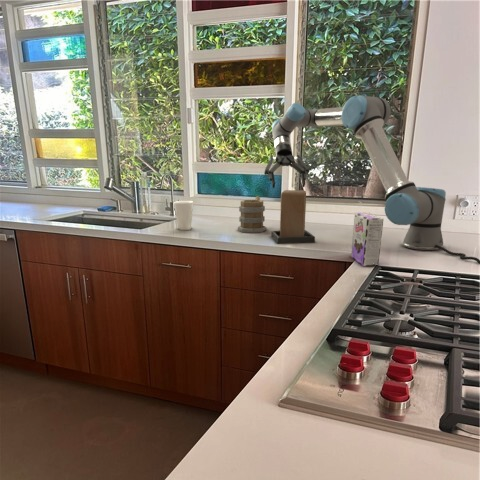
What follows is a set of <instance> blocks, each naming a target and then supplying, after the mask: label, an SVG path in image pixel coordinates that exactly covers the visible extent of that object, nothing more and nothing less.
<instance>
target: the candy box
mask: <svg viewBox="0 0 480 480" xmlns="http://www.w3.org/2000/svg"><path fill="white" fill-rule="evenodd" d="M383 227H384V217H380V216H378V215H375V214H373V213H371V212H368V211H367V212H364V211H363V212H354V218H353V231H352V245H351V256H350V258H351V259H353V260H354V261H355V262H357V263H358V264H360V266H362V267H377V266H376V265H378V266H379V262H380V253H381V244H382V238H383V237H382V236H383ZM373 263H374V264H373Z"/></svg>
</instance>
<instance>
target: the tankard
mask: <svg viewBox="0 0 480 480" xmlns="http://www.w3.org/2000/svg"><path fill="white" fill-rule="evenodd" d="M265 211H266V206H265V205H264V200H261V198H260V196H259V195H256V197H255V199H243V200H240V205H239V206H238V212H240V216H238V217H239V218H238V222H240V225H239V226H238V227H237V231H239V232H241V233H249V234H251V233H252V234H255V233H256V234H257V233H263V232H265V231H266V230H267V226H266V225H264V222H265V221H266V220H265V217H266V216H265V215H264V212H265Z"/></svg>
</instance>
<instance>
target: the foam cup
mask: <svg viewBox="0 0 480 480" xmlns="http://www.w3.org/2000/svg"><path fill="white" fill-rule="evenodd" d="M173 207H174V211H175V212H174V213H175V217H176V223H177V224H176V225H177V228H178V230H179V231H180V230H181V231H189V230H191V229H192V223H193V222H192V221H193V213H194V212H193V210H194V201H193V200H176V201H173Z"/></svg>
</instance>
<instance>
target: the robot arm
mask: <svg viewBox="0 0 480 480" xmlns="http://www.w3.org/2000/svg"><path fill="white" fill-rule="evenodd" d="M391 113H392V109H391V105H390V103H389V102H388V100H386V99H385V98H383V97H379V96H370V95H369V96H368V95H362V94H360V95H359V94H358V95H354V96H351V97H349V98H348V99H347V100H346V102H345V103H344V105H343V106H338V107H325V108H314V109H313V108H312V109H311V108H310V109H308V108H307V109H306V108H305V107H304V106H303V105H302V104H300V103H299V102H294V103H292V104H291V105H290V106H289V107H288V108H287V110H286V111H285V112H284V114H283V116H282V117H281V118H278V119H276V120H274V121H273V122H272V124H271V134H272V137H273V145H274V151H275V156H274V155H272V154H271V155H270V156H269V161H268V163H267V165H266V166H265V169H264V173H263V174H264V175H265V176H266V175H267V177H268V181H269V182H271V186H272V189H274V188H275V186H276V179H275V172H276V170H277V169H278V168H280V167H290V168H293V169H294V170H295V171H296V172H298V173H299V174H300V180H301V186H302V188H305V186H306V180H307V175H309V173H310V168H309V166H307V165H306V163H305V162H304V161H303V160H302V158H301V156H300V154H297V156H295V155H293V150H292V143H291V138H290V136H291V134H292V133H293V132H294V130H295V129H296V128H297V127H298V128H320V127H338V126H339V127H340V126H344V127H345V128H346V129H348V130H351V131H352V132H353V134H354V137H355V138H356V139H357V140H361V142H362V144H363V146H364V148H365V151H366V152H367V154H368V157H369V158H370V161H371V163H372V165H373V167H374V170H375V172H376V173H377V176H378V178H379V179H380V182H381V184H382V186H383V188H384V190H385V195H384V200H385V204H384V206H385V207H384V214H385V216H386V218H387V219H388V220H389V222H391V223H392V224H393V225H396V226H409V228H408V229H407V231H406V234H405V236H404V238H403V241H402V246H403V247H404V248H406V249H411V250H415V251H416V250H417V251H443V252H445V253H446V254H447V255H448V254H449V255H450V256H454V257H455V256H456V257H457V256H458V257H459V258H460V260H467V261H468V260H472V261H475V262H476V263H477V264H478V265H480V259H479V258H477V257H476V256H467V255H466V254H465V253H463V252H453V251H450V250H448V249H447V248H445V247H444V238H443V234H442V224H443V223H442V222H443V216H444V212H445V211H444V210H445V204H446V200H447V199H446V194H447V191H446V190H445V189H442V188H434V187H421V186H416V184H415V182H414V181H411V180H409V179H408V177H407V175H406V173H405V171H404V169H403V167H402V165H401V164H400V161H399V159H398V157H397V155H396V153H395V151H394V148H393V147H392V145H391V142H390V140H389V138H388V136H387V134H386V132H385V130H384V128H383V127H384V126H385V125H386V124H387V123H388V121H389V120H390V117H391ZM274 162H276V163H275V164H274V165H273V163H274ZM271 166H272V167H271Z"/></svg>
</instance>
